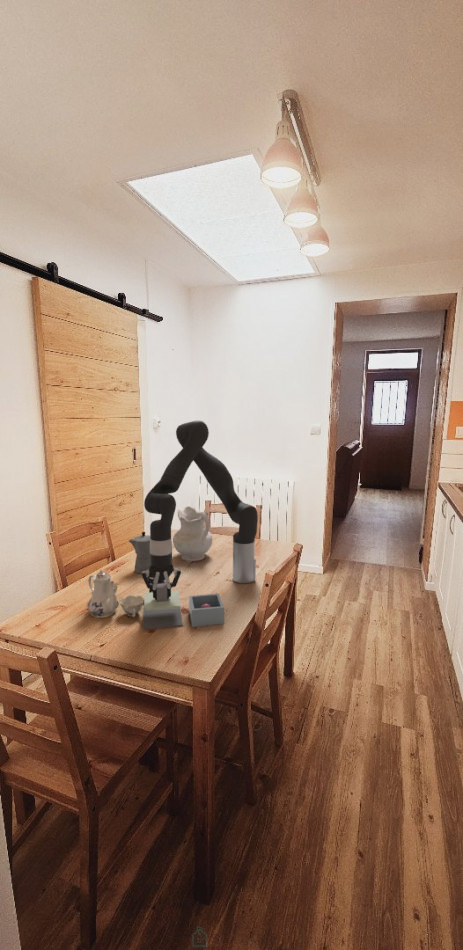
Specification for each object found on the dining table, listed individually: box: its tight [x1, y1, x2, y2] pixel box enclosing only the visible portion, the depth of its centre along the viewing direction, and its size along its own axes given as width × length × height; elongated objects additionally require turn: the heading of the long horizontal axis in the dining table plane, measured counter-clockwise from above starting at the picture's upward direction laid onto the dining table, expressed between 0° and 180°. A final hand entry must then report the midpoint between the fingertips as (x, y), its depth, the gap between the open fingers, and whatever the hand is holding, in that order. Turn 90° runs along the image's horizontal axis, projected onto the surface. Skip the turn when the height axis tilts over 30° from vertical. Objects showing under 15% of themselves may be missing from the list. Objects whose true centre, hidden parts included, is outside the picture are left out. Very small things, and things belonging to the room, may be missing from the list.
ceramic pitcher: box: [172, 506, 213, 562], centre depth 203 cm, size 22×20×25 cm
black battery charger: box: [148, 573, 166, 593], centre depth 160 cm, size 7×4×11 cm, turn 70°
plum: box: [201, 604, 211, 608], centre depth 145 cm, size 4×4×4 cm
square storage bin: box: [188, 593, 225, 628], centre depth 145 cm, size 11×11×6 cm
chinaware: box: [86, 569, 144, 619], centre depth 150 cm, size 28×17×17 cm, turn 51°
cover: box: [143, 583, 181, 612], centre depth 143 cm, size 12×12×6 cm
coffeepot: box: [128, 531, 150, 575], centre depth 187 cm, size 15×9×18 cm, turn 113°
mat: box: [142, 608, 184, 631], centre depth 145 cm, size 13×13×1 cm
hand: (161, 598), depth 144 cm, fingers closed on cover, 3 cm apart
